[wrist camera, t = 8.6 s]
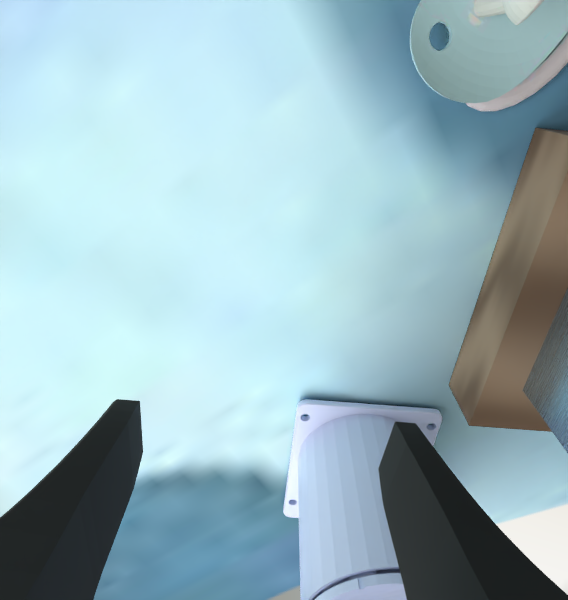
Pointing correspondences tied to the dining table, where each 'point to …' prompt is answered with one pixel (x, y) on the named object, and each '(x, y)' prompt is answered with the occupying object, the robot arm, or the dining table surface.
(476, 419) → the stand
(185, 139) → the dining table surface
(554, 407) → the block
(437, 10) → the pacifier
